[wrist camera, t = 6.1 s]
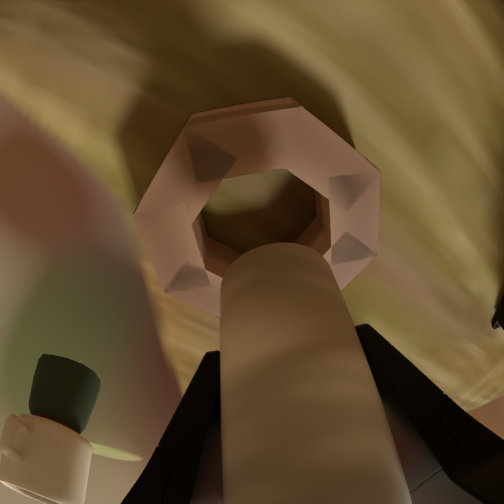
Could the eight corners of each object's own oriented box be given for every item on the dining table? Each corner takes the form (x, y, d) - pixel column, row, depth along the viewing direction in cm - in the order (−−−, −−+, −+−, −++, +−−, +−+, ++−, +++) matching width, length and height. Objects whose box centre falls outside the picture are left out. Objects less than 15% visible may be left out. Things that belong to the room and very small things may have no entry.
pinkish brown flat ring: (352, 90, 14) (378, 99, 11) (356, 268, 20) (372, 300, 17) (128, 130, 14) (108, 147, 11) (186, 298, 20) (182, 334, 18)
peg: (332, 232, 10) (438, 488, 3) (333, 318, 12) (390, 516, 6) (207, 254, 10) (199, 534, 4) (233, 336, 12) (244, 542, 6)
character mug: (14, 327, 21) (-38, 458, 10) (78, 329, 21) (33, 488, 11) (66, 396, 27) (42, 505, 17) (124, 401, 28) (109, 522, 17)
